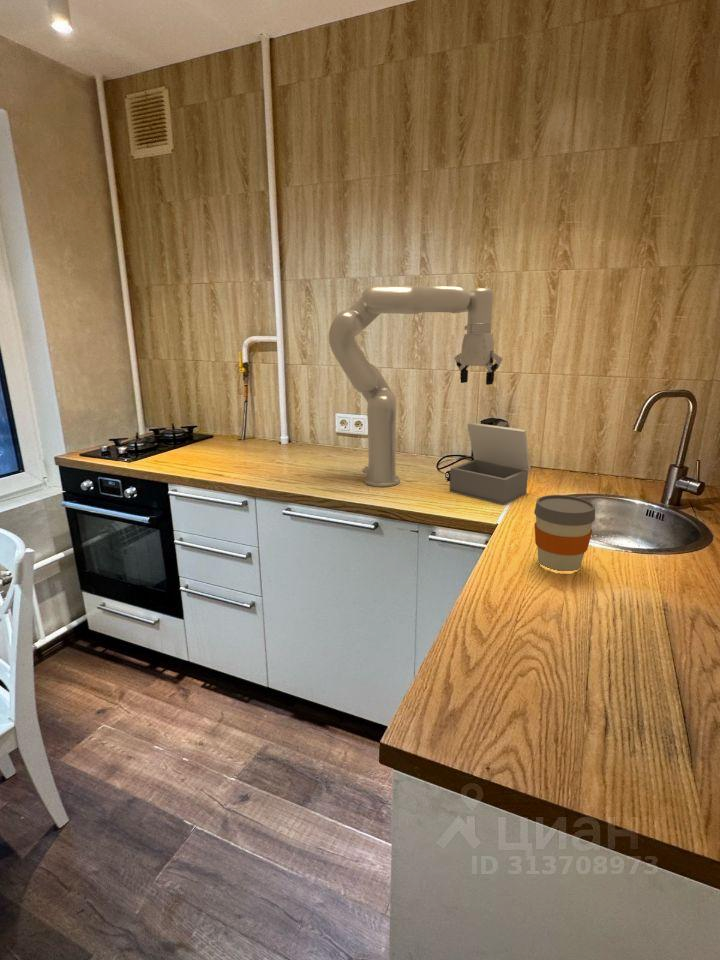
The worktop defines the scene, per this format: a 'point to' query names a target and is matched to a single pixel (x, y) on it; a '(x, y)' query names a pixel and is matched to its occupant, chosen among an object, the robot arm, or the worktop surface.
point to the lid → (499, 444)
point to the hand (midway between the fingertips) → (476, 383)
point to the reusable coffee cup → (563, 530)
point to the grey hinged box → (488, 481)
